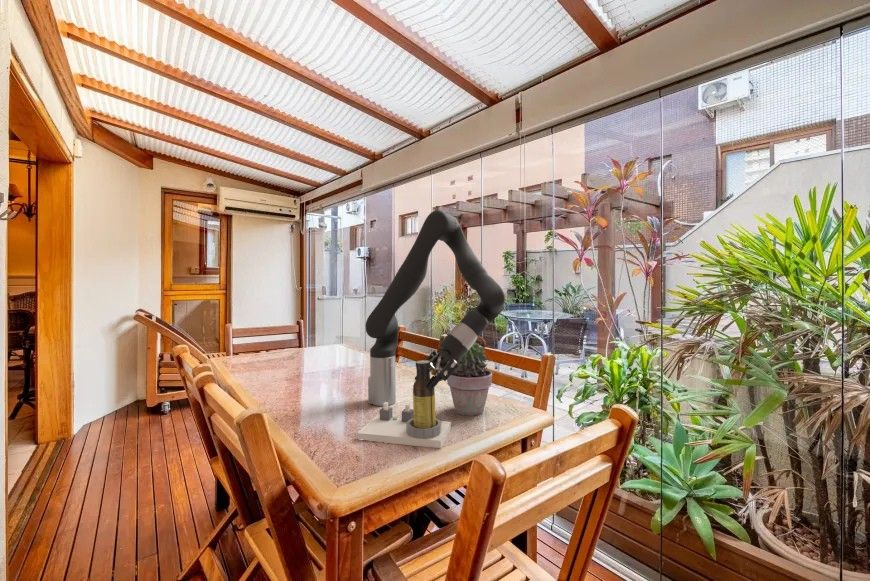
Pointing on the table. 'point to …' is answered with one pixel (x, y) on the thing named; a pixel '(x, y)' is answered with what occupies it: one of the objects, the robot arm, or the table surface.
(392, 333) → the robot arm
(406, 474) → the table surface
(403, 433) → the breaker board
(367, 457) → the table surface
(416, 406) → the sauce bottle
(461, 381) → the potted plant
